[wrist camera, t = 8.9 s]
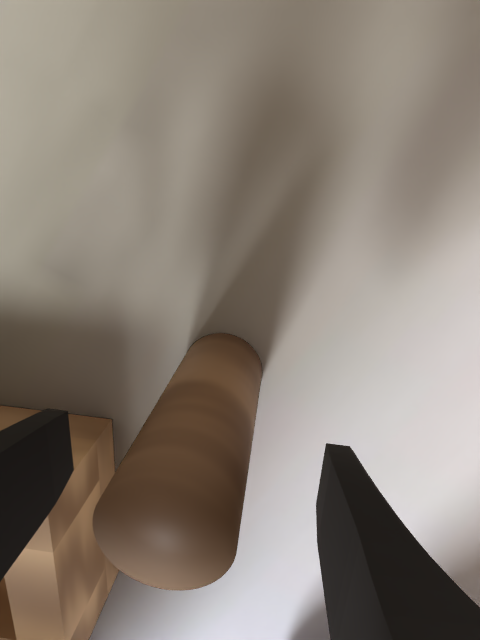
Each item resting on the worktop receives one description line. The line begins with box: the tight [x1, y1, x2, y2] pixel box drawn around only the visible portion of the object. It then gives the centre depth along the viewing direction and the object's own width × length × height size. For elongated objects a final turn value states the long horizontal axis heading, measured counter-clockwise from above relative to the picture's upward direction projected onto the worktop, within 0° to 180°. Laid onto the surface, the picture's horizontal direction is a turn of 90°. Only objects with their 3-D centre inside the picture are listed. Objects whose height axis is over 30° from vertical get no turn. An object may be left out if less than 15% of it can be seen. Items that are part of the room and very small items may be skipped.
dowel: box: [93, 333, 262, 590], centre depth 12 cm, size 3×3×8 cm
